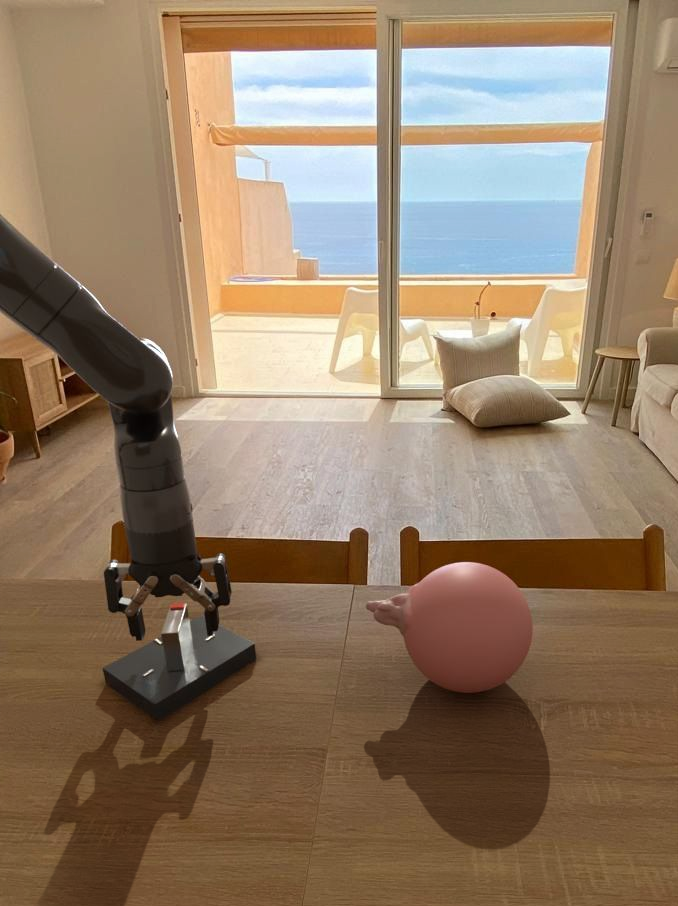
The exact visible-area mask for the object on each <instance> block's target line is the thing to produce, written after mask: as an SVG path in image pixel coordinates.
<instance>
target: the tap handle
mask: <svg viewBox="0 0 678 906" xmlns="http://www.w3.org/2000/svg"><path fill="white" fill-rule="evenodd" d="M188 608H189V607H188V603H186V602H177V603H176V602H175V603H171V604H170V607H169V608H168V612H167V615H166V618H165V621H164V624H163V627H162V629H161V633H160V637H162V642H163V648H164V653H165V659H166V665H167V671H179V670H184V669H185V665H186V661H187V658H188V654H189V650H190V646H191V642H192V634H191V628H190V621H191V620H190V615H189V609H188Z"/></svg>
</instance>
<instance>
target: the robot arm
mask: <svg viewBox="0 0 678 906" xmlns="http://www.w3.org/2000/svg"><path fill="white" fill-rule="evenodd" d="M0 314H2V315H3V316H4V317H5V318H7V319H9V320H10V321H11V322H12V323H14V324H15V325H16V326H17V327H19V328H20V329H21V330H22V331H23V332H25V333H27V334H28V335H29V336H31V337H32V338H33V339H35V340H36V341H38V343H40V344H41V345H43V346H44V347H46V348H47V349H49V350H50V351H52V352H53V353H54V354H55V355H57V357H59V358H60V359H61V360H62V361H63V362H64V363H65V364H66V365H67V366H68V367H69V368H70V369H71V370H72V371H73V372H74V373H75V374H76V375H77V376H78V377H79V378H80V379H81V380H82V381H83V382H84V383H86V384H87V385H88V386H89V387H90V389H92V390H93V391H94V392H95V393H96V394H97V395H98V396H100V397H101V398H102V399H104V400H105V401H106V402H107V403H108V408H109V413H110V418H111V422H112V427H113V447H114V448H113V449H114V451H113V452H114V459H115V466H116V472H117V476H118V482H119V491H120V494H119V495H120V496H119V497H120V508H121V513H122V514H121V515H122V519H123V525H124V531H125V536H126V542H127V548H128V552H129V557H130V562H127V563H125V562H123V563H121V562H120V561H118V560H117V559H115V558H113V559H110V560H109V561H108V563H107V565H106V567H105V569H104V571H103V577H104V578H103V579H104V586H105V595H106V603H107V610H108V611H109V612H110V613H112V614H116V613H118V612H119V613H122V614H124V615H125V616H126V620H127V626H128V631H129V635H130V636H131V637H132V638H133V637H135V641H137V642H138V641H139V642H141V641H143V640H144V638H145V636H146V626H145V625H146V624H145V619H144V615H143V609H142V605H143V604H144V602H146V600H147V598H148V597H149V596H150V595H151V596H154V597H155V598H164V597H167V596H172V597H183V595H184V594H185V595H187V597H188V598H189V599H191V600H192V601H193V602H197V603H198V604H200V606H201V607H203V608H204V611H203V612H204V617H205V622H206V630H207V636H214V631H217V630H218V627H219V625H220V615H219V613H220V612H219V607H222V606H223V607H227V606H229V605H230V604H231V596H232V592H233V591H232V586H231V580H230V574H229V570H228V564H227V558H226V555H225V554H223V553H220V552H219V553H217V554H216V555H215V557H209V558H201V556H200V555H199V553H198V548H197V539H196V532H195V524H194V517H193V504H192V502H191V495H190V491H189V488H188V484H187V480H186V476H185V465H184V461H183V460H184V459H183V452H182V446H181V443H180V439H179V435H178V432H177V429H176V425H175V417H174V406H173V397H172V396H173V395H172V392H173V387H174V378H173V371H172V369H171V366H170V363H169V360H168V357H167V356H166V353H164V351H163V350H162V349H161V347H160V346H159V345H157V343H155V342H154V341H152V340H150V339H149V338H147V337H144V336H139V335H135V334H133V333H132V332H131V331H130V330H128V329H127V328H126V327H125V326H124V325H122V324H121V323H120V322H119V321H117V320H116V319H115V318H114V317H113V316H112V315H110V314H109V313H108V312H107V311H106V309H104V307H103V306H102V303H100V301H99V300H98V298H96V296H95V295H93V293H91V292H90V291H89V290H88V289H87V288H86V287H85V286H84V285H83V284H81V282H79V280H77V279H75V277H73V276H72V275H71V274H70V273H68V271H66V270H65V269H64V268H63V267H62V266H61V265H59V264H57V263H56V261H54V260H53V259H52V258H50V257H49V256H48V255H47V254H46V253H44V252H43V251H42V250H41V249H40V248H38V247H37V246H36V244H35V243H33V242H32V241H30V240H29V239H28V238H27V237H26V236H25V235H24V234H22V233H21V232H20V231H19V230H18V229H17V228H16V227H15V226H14V225H13V224H12V223H11V222H9V221H8V219H7V218H6V217H4V216H3V214H1V213H0ZM203 570H204V571H206V572H207V573H208V575H209V576H211V577H212V578H215V585H216V589H217V592H215V591H213V589H212V588H211V587H209V585H208V584H207V582H206V581H205V579H203V578H202V577H201V576H200V575H201V573H202V571H203ZM127 575H129V576H130V578H131V579H133V581H135V583H137V584H138V586H137V588H136V589H135V591H134V592H133V594H132V595H131V597H130V598H129V597H124V592H123V584H122V582H124V580H125V578H126V576H127Z"/></svg>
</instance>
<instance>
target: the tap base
mask: <svg viewBox="0 0 678 906" xmlns="http://www.w3.org/2000/svg"><path fill="white" fill-rule="evenodd" d="M189 621H190V628H191V634H192V642H191V646H190V650H189V654H188V658H187V661H186V665H185V669H184V670H179V671H167V665H166V659H165V653H164V648H163V642H162V636H159V637H158V638H154V639H153V640H152V641H150V642H149V643H147V644H145V645H143V646H141V647H140V648H137V649H136V650H135V649H134V650H133V651H131V652H130V653H128V654H126V655H123V656H122V657H120V658H119V659H116V660H115V661H113V662H111V663H109V664H107V665H105V666H103V667H102V672H103V677H104V682H105V685H106V686H108V687H109V688H110V689H111V690H113V691H114V692H116V693H118V694H119V695H120V696H122V697H123V698H124V699H126V700H127V701H128V702H130V703H131V704H133V705H134V706H136V707H137V708H139V709H140V710H141V711H143V712H144V713H145V714H147V715H149V716H150V717H151V718H152V719H154V720H155V721H157V722H160V721H162V720H163V719H165V718H166V717H168V716H169V715H171V714H173V713H174V712H176V711H177V710H179V709H180V708H181V707H184V706H185V705H186V704H189V703H190V702H191V701H193V700H194V699H196V698H198V697H199V696H201V695H203V694H204V693H206V692H207V691H209V690H210V689H212V688H213V687H215V686H217V685H218V684H220V683H221V682H223V681H224V680H227V679H228V678H230V677H231V676H233V675H234V674H236V673H237V672H239V671H241V670H242V669H244V668H245V667H247V666H248V665H250V664H252V663H253V662H255V661H256V660H257V651H256V644H255V642H253V641H251V640H249V639H247V638H245V637H243V636H242V635H241V634H240V635H239V634H238V633H236V632H234V631H232V630H230V629H228V628H227V627H224V626H222V625H220V624H219V627H218V630H217V631H214V636H207V630H206V622H205V615H204V616H203V615H199V616H197V617H196V618H193V619H192V620H189Z"/></svg>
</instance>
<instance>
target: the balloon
mask: <svg viewBox="0 0 678 906" xmlns="http://www.w3.org/2000/svg"><path fill="white" fill-rule="evenodd" d="M365 609H366V610H368V611H370V612H371V613H373V619H374V620H375V621H376V622H377V623H379V624H381V625H384V626H390V627H391V626H392V627H395V628H396V629H398V630H399V633H400V635H401V636H402V637H403V641H404V645H405V648H406V651H407V653H408V656H409V658H410V659H411V662H413V664H414V666H415V667H416V668H417V669H418V671H419V672H420V673H421V674H422V675H423V676H424V677H425V678H427V679H428V680H429V681H431V682H432V683H433V684H435V685H437V686H439V687H440V688H443V689H445V690H449V691H452V692H457V693H462V694H463V693H464V694H475V693H481V692H486V691H490V690H492V689H495V688H496V687H499V686H501V685H502V684H504V683H505V682H507V681H508V680H509V679H511V678H512V677H513V676H514V675H515V674H516V673H517V671H518V670H519V669H520V668H521V666H522V665H523V663H524V662H525V661H526V658H527V656H528V654H529V651H530V648H531V645H532V640H533V627H534V626H533V619H532V613H531V608H530V606H529V604H528V601H527V599H526V597H525V595H524V594H523V592H522V591H521V589H520V588H519V587H518V585H517V584H516V583H515V582H514V581H513V580H512V579H511V578H509V577H508V576H507V575H506V574H505V573H504V572H502V571H500V570H498V569H497V568H494V567H492V566H490V565H486V564H484V563H479V562H473V561H472V562H471V561H461V562H454V563H449V564H445V565H444V566H441V567H438V568H436V569H434V570H433V571H432V572H430V573H429V574H427V575H426V576H425V577H424V578H422V579H421V580H420V581H419V582H417V583H416V584H414V585H411V586H410V587H409V588H408V590H407V592H406V593H398V594H396V595H394V596H391V597H389V598H387V599H383V600H374V601H373V600H369V601H367V602H366V603H365Z"/></svg>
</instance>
